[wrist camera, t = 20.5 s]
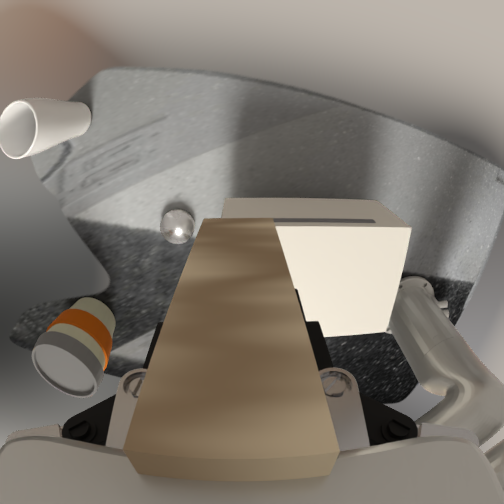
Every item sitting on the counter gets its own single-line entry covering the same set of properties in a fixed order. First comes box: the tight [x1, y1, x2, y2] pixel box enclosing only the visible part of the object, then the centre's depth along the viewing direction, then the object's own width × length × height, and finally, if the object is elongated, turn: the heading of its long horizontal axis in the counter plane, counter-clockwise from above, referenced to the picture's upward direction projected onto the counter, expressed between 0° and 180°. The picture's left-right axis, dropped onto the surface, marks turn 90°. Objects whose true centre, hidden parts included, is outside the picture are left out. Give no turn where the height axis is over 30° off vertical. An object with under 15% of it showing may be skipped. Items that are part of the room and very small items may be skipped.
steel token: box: [160, 209, 195, 244], centre depth 45 cm, size 5×5×2 cm
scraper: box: [123, 218, 340, 482], centre depth 12 cm, size 3×18×11 cm, turn 0°
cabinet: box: [221, 198, 412, 337], centre depth 39 cm, size 20×14×15 cm
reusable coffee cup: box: [32, 297, 115, 398], centre depth 45 cm, size 13×12×15 cm
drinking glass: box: [0, 98, 91, 159], centre depth 30 cm, size 7×7×15 cm
